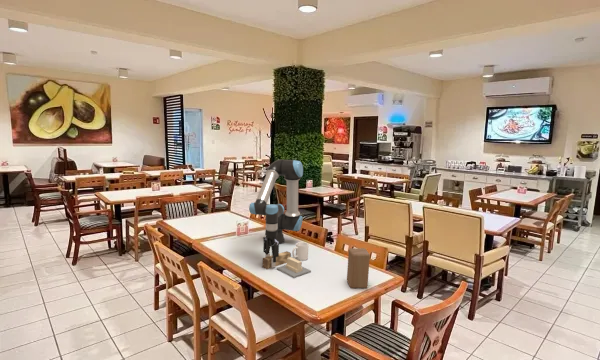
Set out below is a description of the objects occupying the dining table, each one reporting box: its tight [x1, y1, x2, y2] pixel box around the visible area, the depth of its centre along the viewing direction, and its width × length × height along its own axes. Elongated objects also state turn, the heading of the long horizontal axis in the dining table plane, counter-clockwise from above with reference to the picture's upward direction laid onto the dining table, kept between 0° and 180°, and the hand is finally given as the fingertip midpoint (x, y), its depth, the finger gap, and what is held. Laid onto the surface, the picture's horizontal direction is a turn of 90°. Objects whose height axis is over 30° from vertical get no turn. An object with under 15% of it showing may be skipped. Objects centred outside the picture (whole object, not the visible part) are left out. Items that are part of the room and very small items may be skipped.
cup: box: [291, 241, 309, 262], centre depth 224 cm, size 8×12×10 cm
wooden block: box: [346, 247, 371, 289], centre depth 189 cm, size 10×10×20 cm
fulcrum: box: [276, 256, 312, 279], centre depth 205 cm, size 14×16×7 cm
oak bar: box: [262, 250, 292, 270], centre depth 214 cm, size 20×4×6 cm, turn 133°
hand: (270, 265), depth 210 cm, fingers open, 5 cm apart
